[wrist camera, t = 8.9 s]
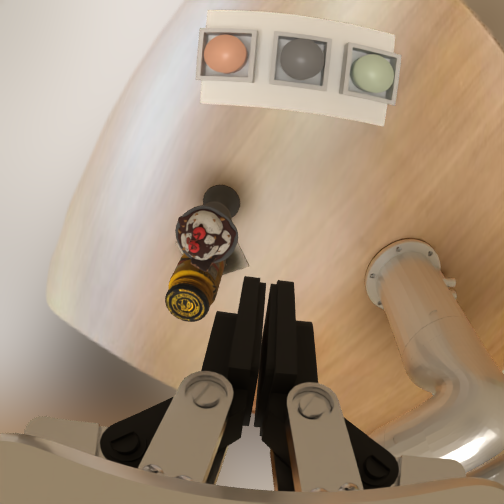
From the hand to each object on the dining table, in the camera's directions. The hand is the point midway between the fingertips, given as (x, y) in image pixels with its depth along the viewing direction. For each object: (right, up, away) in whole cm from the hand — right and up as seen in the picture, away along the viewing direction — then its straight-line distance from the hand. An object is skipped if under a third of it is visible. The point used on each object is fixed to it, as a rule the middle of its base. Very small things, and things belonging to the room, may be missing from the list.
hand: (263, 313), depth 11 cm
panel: (+5, +24, +22) cm, 33 cm away
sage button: (+13, +22, +20) cm, 33 cm away
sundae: (-4, +9, +31) cm, 33 cm away
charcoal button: (+5, +23, +19) cm, 30 cm away
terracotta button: (-3, +24, +20) cm, 32 cm away
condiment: (-6, +2, +35) cm, 36 cm away
